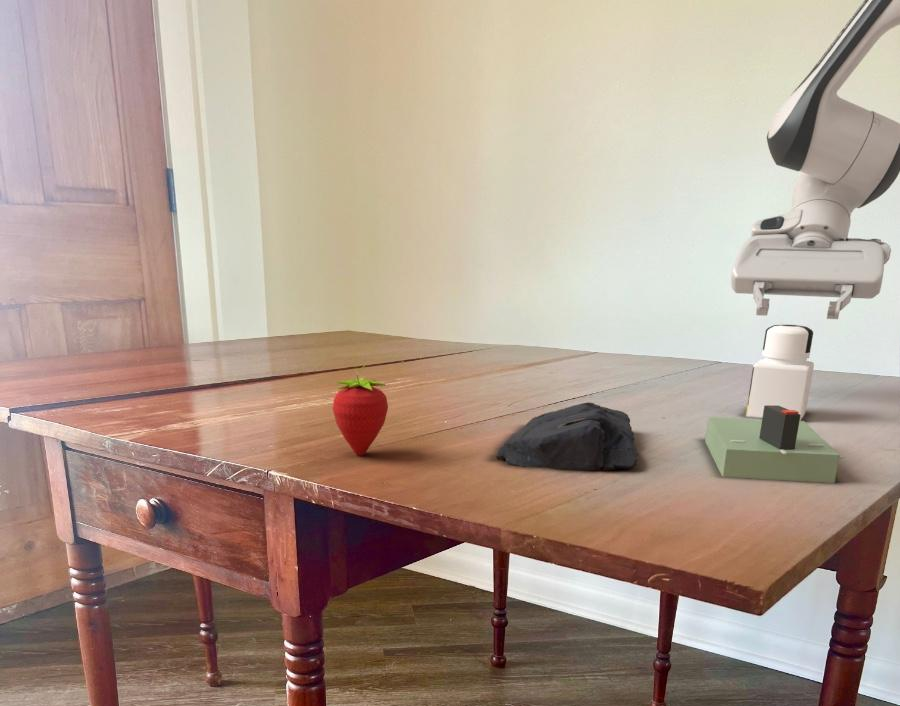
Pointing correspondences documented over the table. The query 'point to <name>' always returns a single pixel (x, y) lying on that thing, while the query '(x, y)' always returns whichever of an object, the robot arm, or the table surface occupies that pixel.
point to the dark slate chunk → (574, 440)
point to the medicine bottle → (782, 371)
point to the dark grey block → (779, 426)
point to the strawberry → (360, 412)
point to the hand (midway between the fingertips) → (796, 314)
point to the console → (769, 452)
